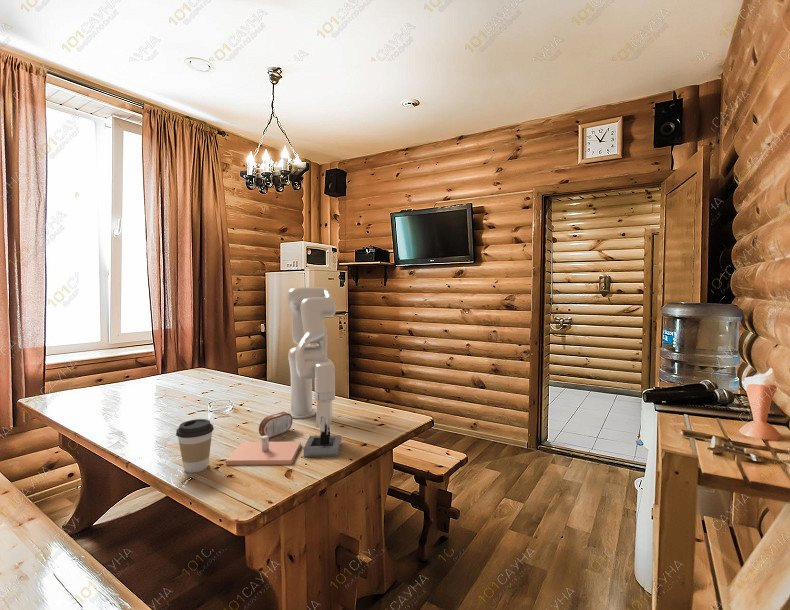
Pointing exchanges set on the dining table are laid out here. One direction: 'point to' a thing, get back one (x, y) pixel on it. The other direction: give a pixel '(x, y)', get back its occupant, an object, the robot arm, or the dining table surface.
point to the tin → (275, 424)
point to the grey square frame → (322, 447)
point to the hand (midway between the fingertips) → (325, 442)
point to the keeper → (264, 453)
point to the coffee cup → (195, 444)
